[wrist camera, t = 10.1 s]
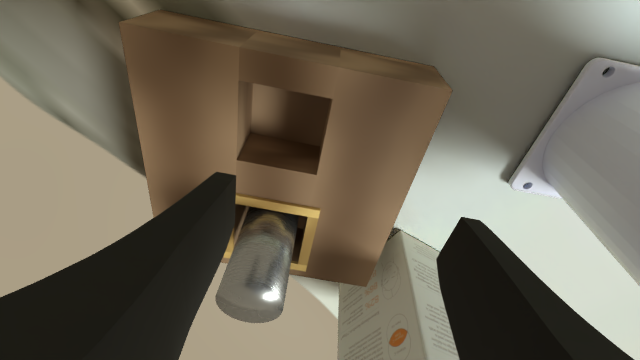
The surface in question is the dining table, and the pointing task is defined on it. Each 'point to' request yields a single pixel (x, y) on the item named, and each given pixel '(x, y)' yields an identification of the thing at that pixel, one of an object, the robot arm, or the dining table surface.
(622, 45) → the dining table surface
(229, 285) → the pin
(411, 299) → the small box
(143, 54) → the board
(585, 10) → the dining table surface
